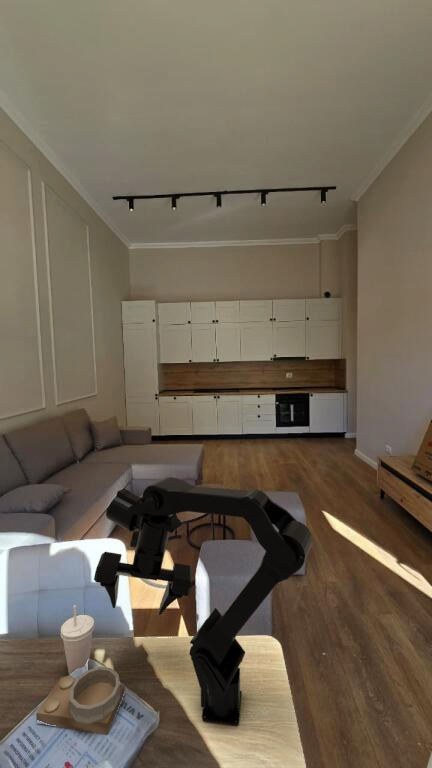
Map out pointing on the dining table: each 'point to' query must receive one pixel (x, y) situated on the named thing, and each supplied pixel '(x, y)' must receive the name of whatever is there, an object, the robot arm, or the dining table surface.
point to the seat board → (84, 701)
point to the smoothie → (77, 640)
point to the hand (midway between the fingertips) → (137, 609)
